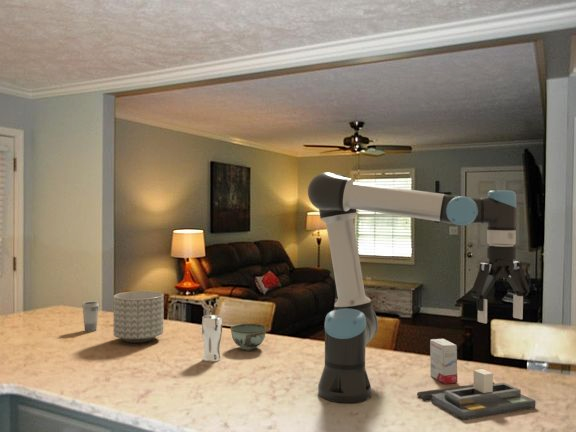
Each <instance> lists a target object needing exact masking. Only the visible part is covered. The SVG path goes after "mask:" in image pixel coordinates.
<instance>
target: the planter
mask: <svg viewBox="0 0 576 432" xmlns="http://www.w3.org/2000/svg"><path fill="white" fill-rule="evenodd" d="M164 297H165V295H164V293H162V292H159V291H152V290H137V291H136V290H135V291H125V292H119V293H116V294H114V295H113V336H114V337H115V338H118V339H121V340H122V341H125V342H127V343H129V344H144V343H147V342H149V341H153V339H155V338H156V337H158V336H160V335H162V334H163V333H164V312H165V311H164V305H165V304H164V302H165V301H164Z"/></svg>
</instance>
